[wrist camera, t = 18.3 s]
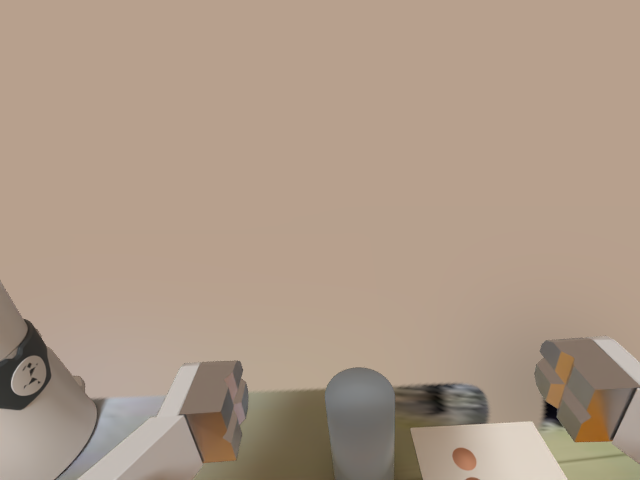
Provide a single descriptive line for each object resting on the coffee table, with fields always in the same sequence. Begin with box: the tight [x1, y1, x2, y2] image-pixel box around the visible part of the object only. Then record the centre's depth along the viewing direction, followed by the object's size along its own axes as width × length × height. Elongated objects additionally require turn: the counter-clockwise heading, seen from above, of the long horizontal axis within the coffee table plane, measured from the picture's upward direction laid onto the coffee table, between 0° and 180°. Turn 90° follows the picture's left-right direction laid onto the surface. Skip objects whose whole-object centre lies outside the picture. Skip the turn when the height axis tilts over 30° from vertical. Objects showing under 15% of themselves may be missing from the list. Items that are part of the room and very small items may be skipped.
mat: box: [410, 421, 568, 480], centre depth 32 cm, size 13×10×1 cm
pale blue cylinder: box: [325, 368, 395, 480], centre depth 30 cm, size 6×6×12 cm
